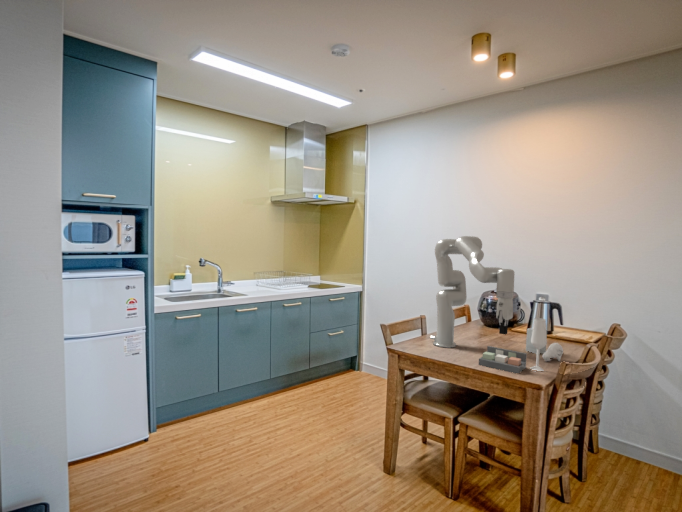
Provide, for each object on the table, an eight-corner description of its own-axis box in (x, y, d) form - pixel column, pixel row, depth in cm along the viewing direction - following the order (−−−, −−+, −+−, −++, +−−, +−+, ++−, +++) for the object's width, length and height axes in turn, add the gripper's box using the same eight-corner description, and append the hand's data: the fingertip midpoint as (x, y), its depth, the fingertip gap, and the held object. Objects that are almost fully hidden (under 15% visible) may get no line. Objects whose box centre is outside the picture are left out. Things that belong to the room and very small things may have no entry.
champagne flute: (526, 367, 192) (529, 317, 191) (540, 367, 192) (542, 317, 191) (534, 371, 185) (536, 320, 184) (548, 372, 185) (551, 320, 184)
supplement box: (537, 354, 214) (538, 331, 214) (525, 350, 221) (526, 328, 220) (546, 353, 218) (547, 330, 217) (534, 349, 224) (535, 327, 224)
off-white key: (494, 361, 190) (495, 356, 190) (498, 359, 194) (498, 354, 194) (504, 363, 187) (504, 358, 187) (507, 361, 191) (508, 356, 191)
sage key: (482, 358, 194) (482, 353, 194) (485, 356, 197) (485, 351, 197) (491, 360, 191) (491, 355, 191) (494, 358, 195) (495, 353, 194)
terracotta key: (507, 364, 186) (508, 358, 186) (511, 362, 190) (511, 356, 190) (518, 366, 183) (518, 360, 183) (521, 364, 187) (521, 358, 187)
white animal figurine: (564, 343, 204) (549, 348, 198) (564, 360, 205) (550, 365, 199) (553, 340, 210) (538, 345, 204) (553, 356, 210) (538, 361, 205)
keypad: (478, 364, 193) (479, 350, 193) (487, 359, 202) (488, 345, 202) (518, 374, 181) (519, 358, 181) (525, 367, 191) (526, 353, 190)
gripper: (508, 297, 181) (506, 337, 181) (518, 294, 192) (516, 332, 193) (491, 295, 186) (489, 335, 186) (502, 293, 197) (500, 330, 198)
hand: (503, 333), depth 190 cm, fingers closed
